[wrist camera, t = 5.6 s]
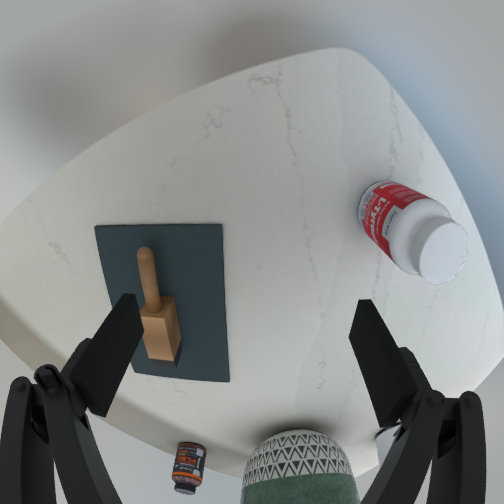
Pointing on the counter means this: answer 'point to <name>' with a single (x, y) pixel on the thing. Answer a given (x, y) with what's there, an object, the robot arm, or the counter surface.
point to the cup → (385, 442)
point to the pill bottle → (414, 231)
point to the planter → (299, 471)
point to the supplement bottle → (188, 467)
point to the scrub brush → (158, 316)
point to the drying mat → (175, 290)
